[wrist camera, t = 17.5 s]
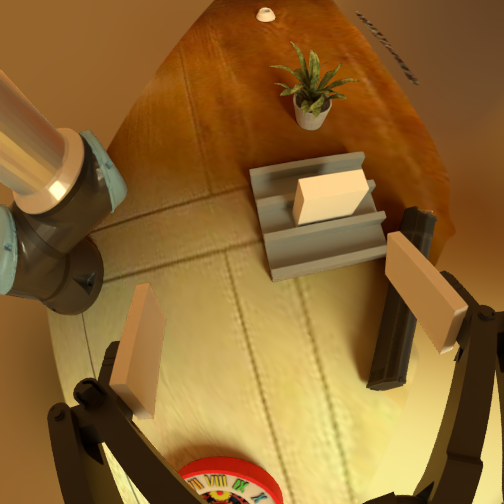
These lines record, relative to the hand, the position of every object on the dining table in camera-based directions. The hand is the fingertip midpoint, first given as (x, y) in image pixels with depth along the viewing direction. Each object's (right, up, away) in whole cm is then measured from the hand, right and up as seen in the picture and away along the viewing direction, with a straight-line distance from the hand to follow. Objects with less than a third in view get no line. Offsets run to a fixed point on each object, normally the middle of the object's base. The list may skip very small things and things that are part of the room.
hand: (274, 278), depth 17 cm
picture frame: (+10, +7, +34) cm, 37 cm away
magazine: (+23, -7, +32) cm, 40 cm away
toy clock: (-6, -42, +25) cm, 50 cm away
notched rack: (+10, +7, +36) cm, 38 cm away
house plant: (+9, +28, +41) cm, 51 cm away
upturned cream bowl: (+3, +64, +50) cm, 82 cm away
